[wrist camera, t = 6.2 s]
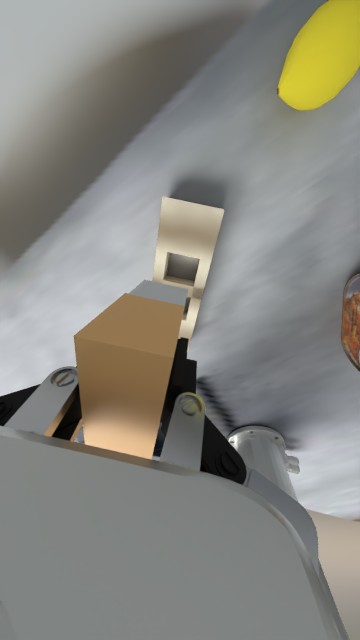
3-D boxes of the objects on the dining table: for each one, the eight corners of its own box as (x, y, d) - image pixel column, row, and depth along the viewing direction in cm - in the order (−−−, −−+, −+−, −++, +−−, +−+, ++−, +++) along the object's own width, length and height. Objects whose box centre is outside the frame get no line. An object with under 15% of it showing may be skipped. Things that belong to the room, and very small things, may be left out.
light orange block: (145, 276, 12) (73, 336, 5) (189, 286, 12) (173, 358, 5) (136, 366, 16) (87, 468, 9) (169, 374, 16) (146, 482, 9)
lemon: (345, 14, 15) (411, -87, 10) (349, 96, 17) (407, 43, 12) (260, 73, 17) (283, 11, 12) (273, 140, 19) (297, 109, 14)
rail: (167, 200, 22) (162, 196, 20) (221, 212, 22) (224, 209, 20) (149, 333, 32) (145, 343, 29) (188, 342, 31) (187, 352, 29)
